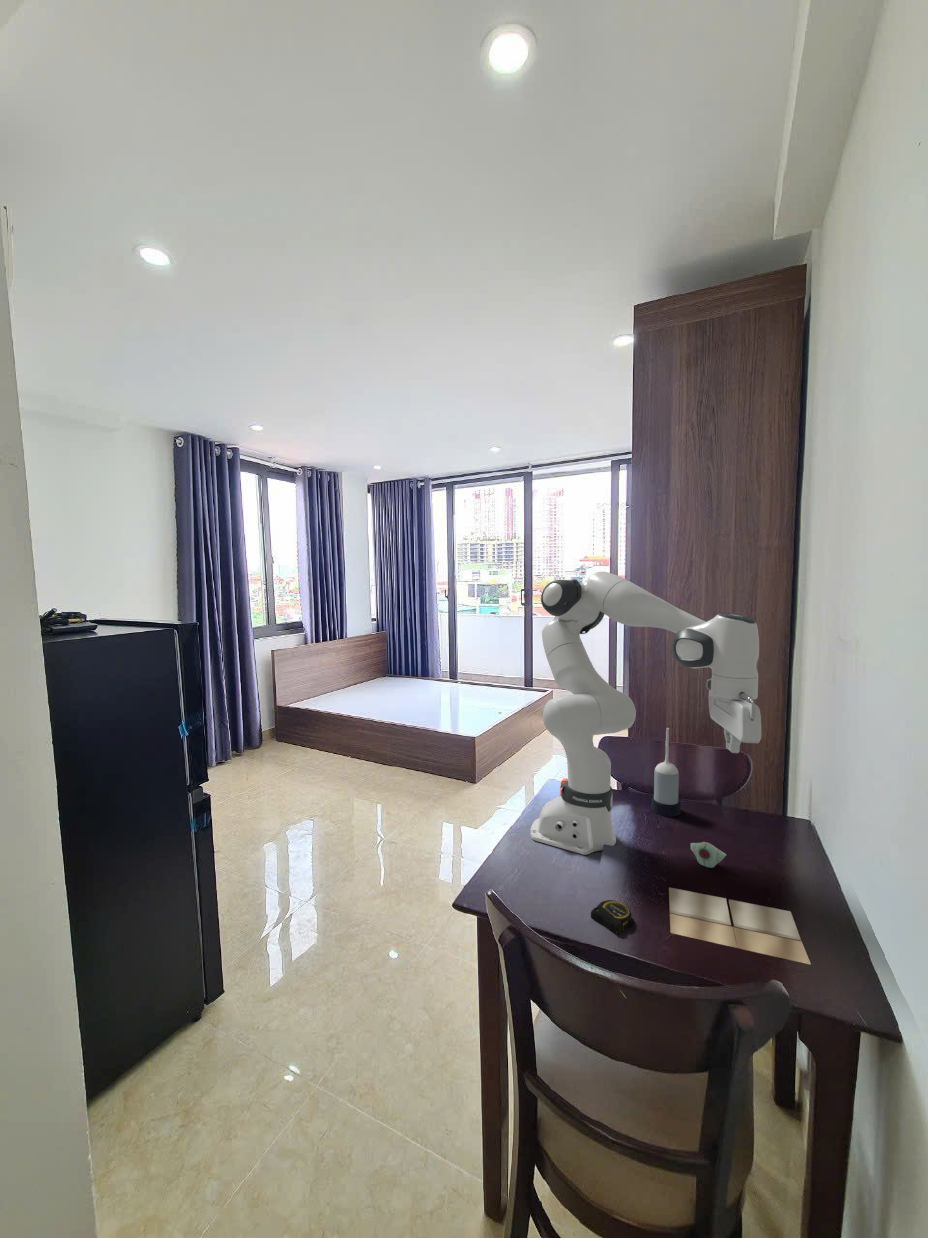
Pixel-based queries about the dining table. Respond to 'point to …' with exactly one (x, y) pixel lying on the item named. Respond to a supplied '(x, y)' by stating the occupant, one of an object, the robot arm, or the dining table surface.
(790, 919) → the plank
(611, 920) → the tape measure
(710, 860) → the pale green lumpy piece
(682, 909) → the plank
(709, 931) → the laid strip
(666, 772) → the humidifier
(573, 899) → the dining table surface
